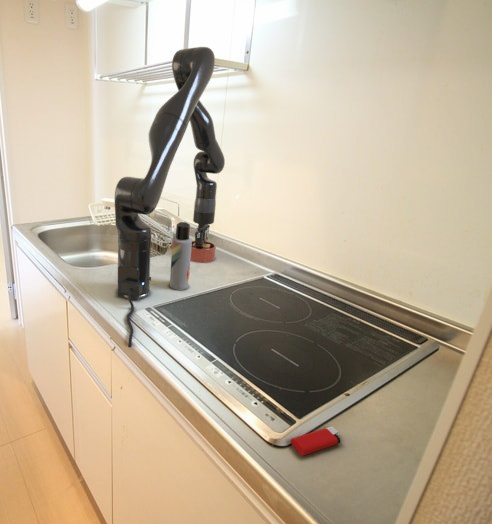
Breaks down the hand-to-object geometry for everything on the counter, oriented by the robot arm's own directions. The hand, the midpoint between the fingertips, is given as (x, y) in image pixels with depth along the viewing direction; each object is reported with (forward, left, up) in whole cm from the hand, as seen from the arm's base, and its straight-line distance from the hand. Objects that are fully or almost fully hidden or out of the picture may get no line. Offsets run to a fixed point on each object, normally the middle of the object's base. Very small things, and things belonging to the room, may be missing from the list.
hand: (200, 254), depth 136 cm
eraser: (0, 0, 0) cm, 0 cm away
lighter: (-77, -37, -2) cm, 86 cm away
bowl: (0, 0, -1) cm, 1 cm away
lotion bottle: (-29, 0, -2) cm, 29 cm away
